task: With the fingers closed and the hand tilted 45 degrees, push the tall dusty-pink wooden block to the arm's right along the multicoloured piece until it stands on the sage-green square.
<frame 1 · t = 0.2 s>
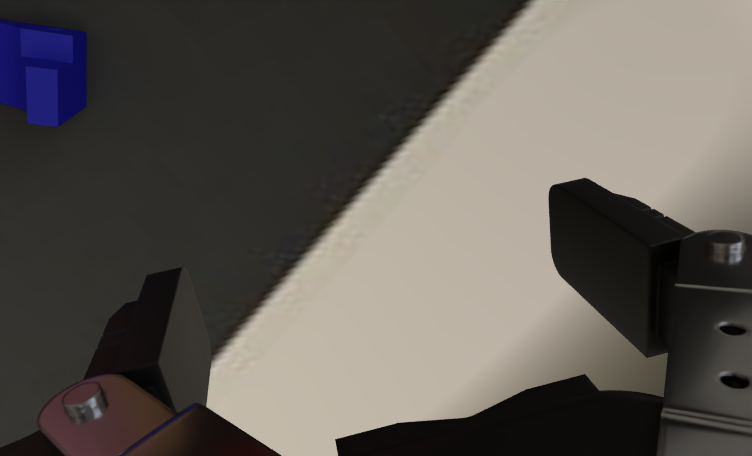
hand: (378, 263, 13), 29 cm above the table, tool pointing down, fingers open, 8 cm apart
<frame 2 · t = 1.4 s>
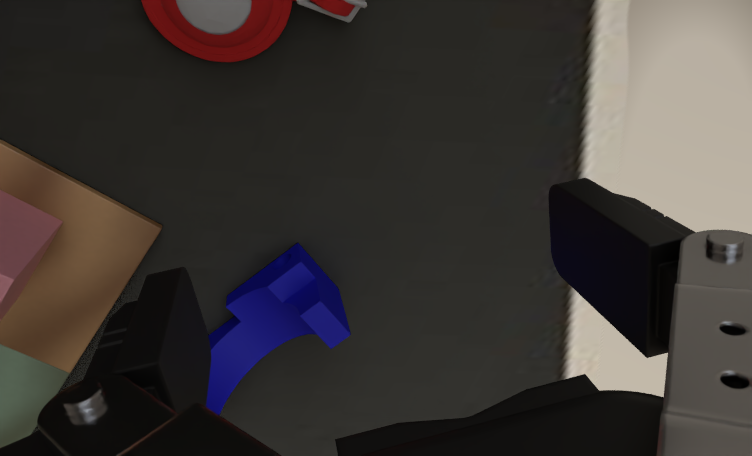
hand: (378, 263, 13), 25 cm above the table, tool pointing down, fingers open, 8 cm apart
blue curved block: (249, 316, 42), on the table
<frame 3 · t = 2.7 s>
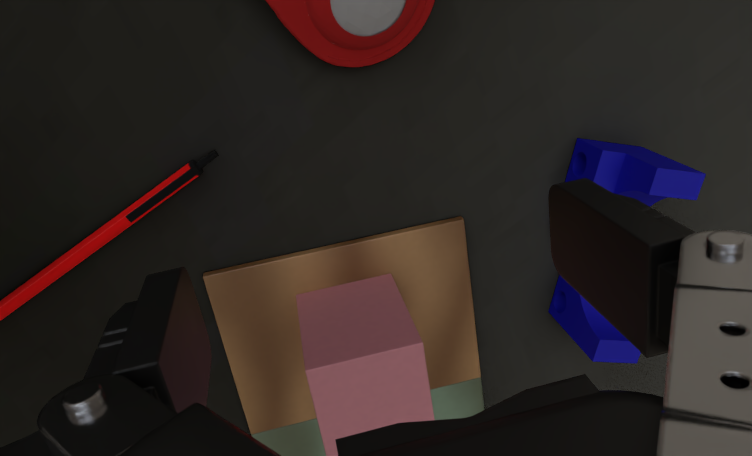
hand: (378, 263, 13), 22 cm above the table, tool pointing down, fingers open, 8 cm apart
blue curved block: (581, 230, 40), on the table
pink block: (352, 324, 38), point 1 cm above the table, touching multicoloured piece
pen: (82, 248, 34), on the table
multicoloured piece: (367, 400, 42), on the table
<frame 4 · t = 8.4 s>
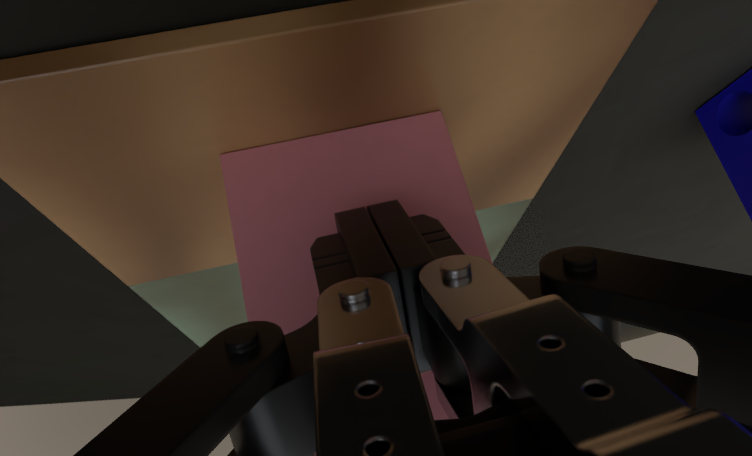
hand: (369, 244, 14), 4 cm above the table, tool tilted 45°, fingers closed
pink block: (336, 182, 19), point 1 cm above the table
multicoloured piece: (335, 227, 24), on the table
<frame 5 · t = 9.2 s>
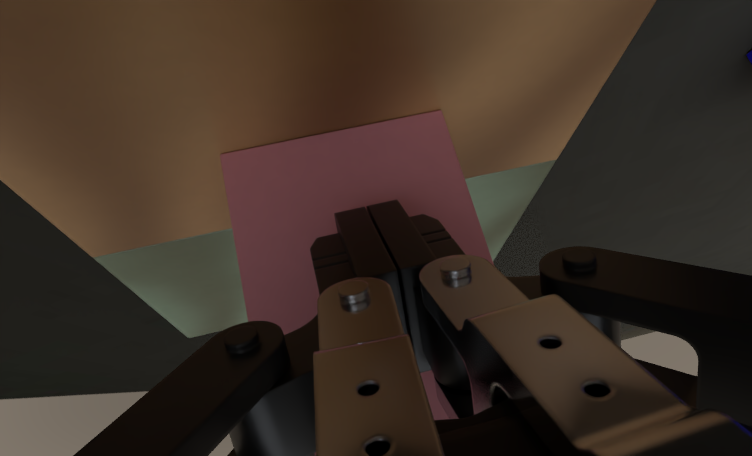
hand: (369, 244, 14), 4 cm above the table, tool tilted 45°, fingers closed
pink block: (337, 181, 19), point 1 cm above the table, touching gripper
multicoloured piece: (331, 191, 21), on the table
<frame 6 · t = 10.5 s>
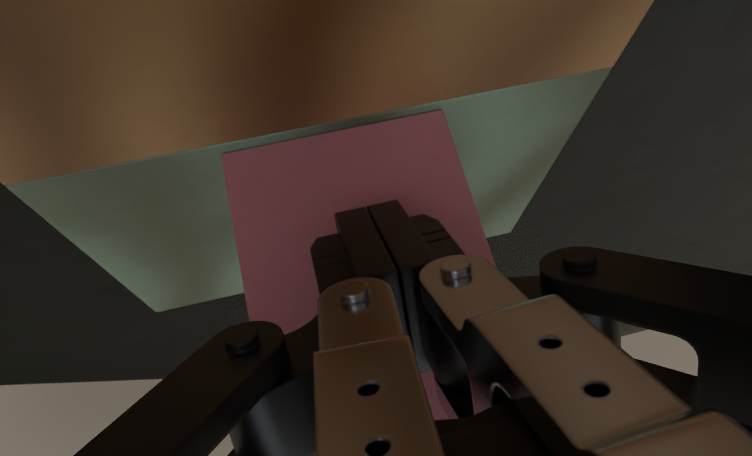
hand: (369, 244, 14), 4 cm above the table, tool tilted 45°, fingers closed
pink block: (337, 181, 19), point 1 cm above the table, touching multicoloured piece, gripper
multicoloured piece: (322, 104, 16), on the table
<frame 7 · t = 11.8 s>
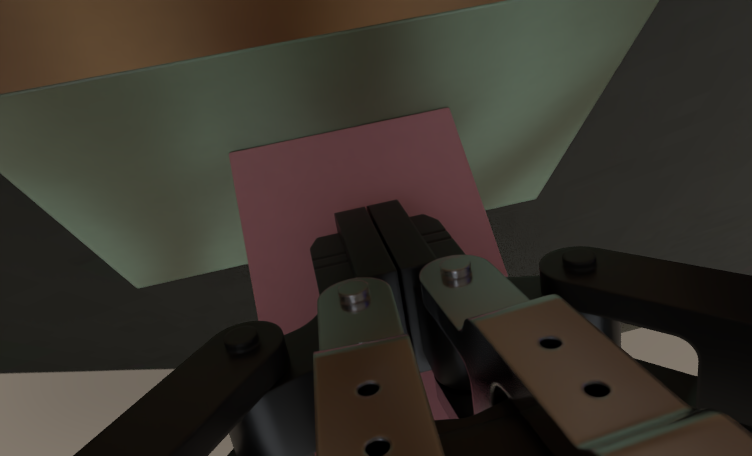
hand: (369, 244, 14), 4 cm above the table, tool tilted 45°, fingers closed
pink block: (344, 179, 19), point 1 cm above the table, touching multicoloured piece, gripper
multicoloured piece: (322, 12, 13), on the table
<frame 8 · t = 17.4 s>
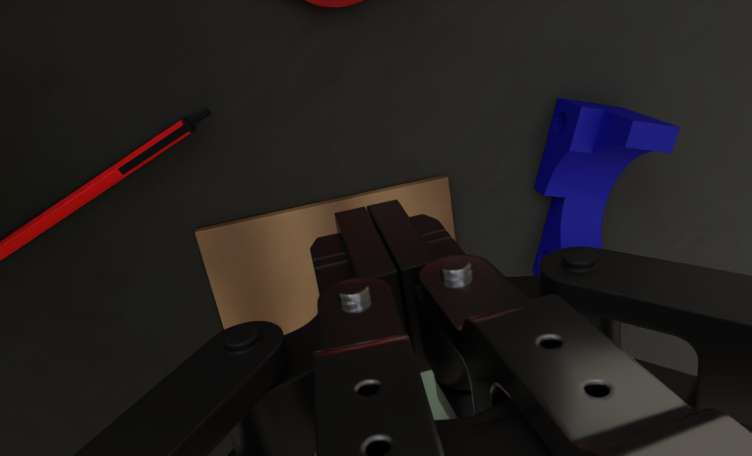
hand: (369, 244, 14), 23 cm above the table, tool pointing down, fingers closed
blue curved block: (563, 190, 41), on the table
pen: (73, 200, 35), on the table
multicoloured piece: (356, 358, 43), on the table
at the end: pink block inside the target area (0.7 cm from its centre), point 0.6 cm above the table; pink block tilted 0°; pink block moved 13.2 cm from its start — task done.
